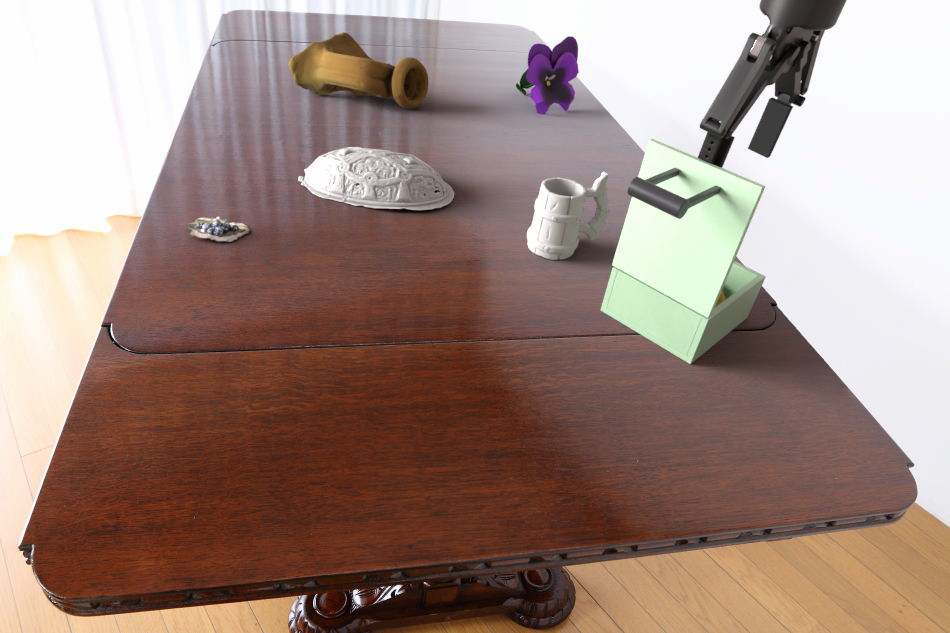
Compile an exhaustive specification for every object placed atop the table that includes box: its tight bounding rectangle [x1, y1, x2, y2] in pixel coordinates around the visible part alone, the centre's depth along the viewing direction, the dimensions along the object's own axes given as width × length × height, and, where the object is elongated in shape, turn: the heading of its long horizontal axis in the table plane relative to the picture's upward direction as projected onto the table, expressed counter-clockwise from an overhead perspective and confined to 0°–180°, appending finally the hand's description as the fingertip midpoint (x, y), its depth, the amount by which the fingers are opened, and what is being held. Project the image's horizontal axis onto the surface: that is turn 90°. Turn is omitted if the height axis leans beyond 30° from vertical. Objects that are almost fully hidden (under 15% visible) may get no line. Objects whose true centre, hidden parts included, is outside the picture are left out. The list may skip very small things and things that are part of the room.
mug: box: [526, 171, 610, 261], centre depth 98 cm, size 8×12×12 cm, turn 106°
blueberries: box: [187, 216, 251, 243], centre depth 93 cm, size 7×8×2 cm
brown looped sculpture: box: [288, 31, 429, 110], centre depth 137 cm, size 18×13×22 cm
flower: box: [515, 36, 580, 115], centre depth 149 cm, size 15×15×14 cm
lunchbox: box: [600, 260, 766, 365], centre depth 89 cm, size 16×14×7 cm
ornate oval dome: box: [297, 146, 455, 211], centre depth 108 cm, size 16×25×7 cm, turn 84°
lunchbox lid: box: [611, 138, 766, 318], centre depth 74 cm, size 16×14×10 cm
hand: (730, 170), depth 80 cm, fingers open, 13 cm apart
